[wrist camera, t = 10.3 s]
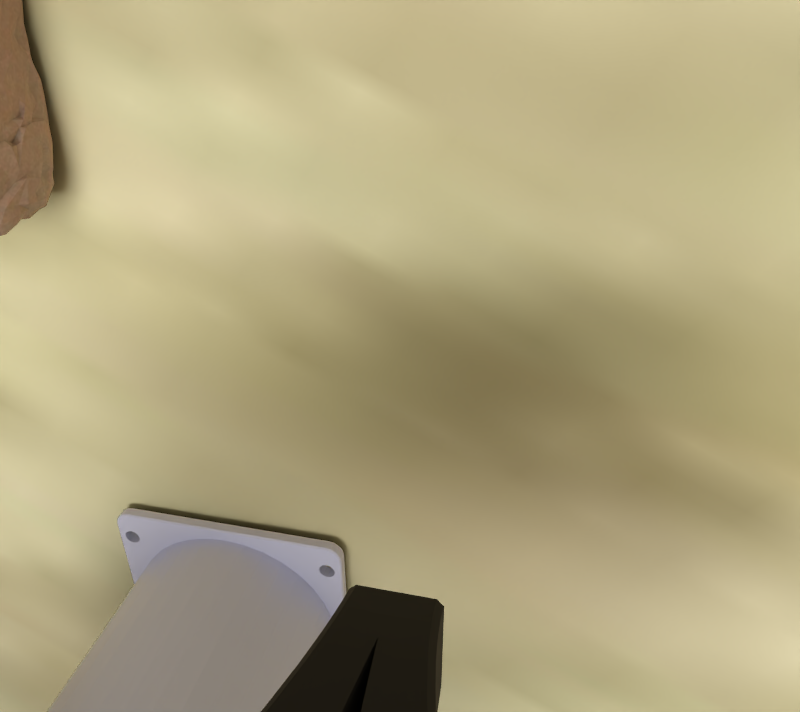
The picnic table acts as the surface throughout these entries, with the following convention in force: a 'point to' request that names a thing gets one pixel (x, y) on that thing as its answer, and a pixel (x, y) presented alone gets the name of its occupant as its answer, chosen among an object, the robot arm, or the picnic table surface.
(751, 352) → the picnic table surface
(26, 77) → the brown faceted rock
